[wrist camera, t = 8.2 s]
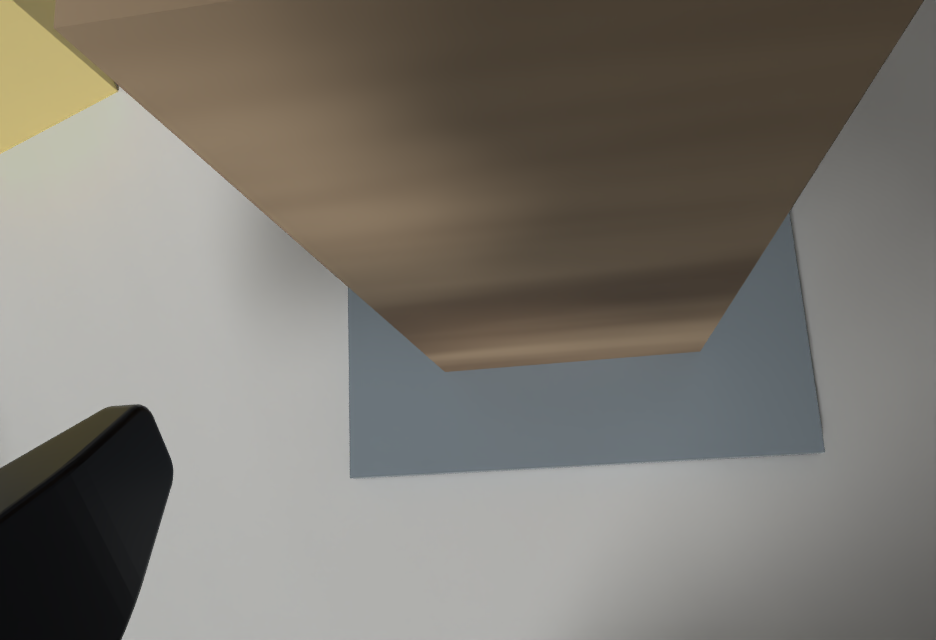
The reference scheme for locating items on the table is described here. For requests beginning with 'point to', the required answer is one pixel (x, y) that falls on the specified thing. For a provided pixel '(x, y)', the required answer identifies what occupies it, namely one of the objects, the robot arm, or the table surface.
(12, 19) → the pale yellow cube
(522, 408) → the coaster
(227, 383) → the table surface
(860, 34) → the walnut block
